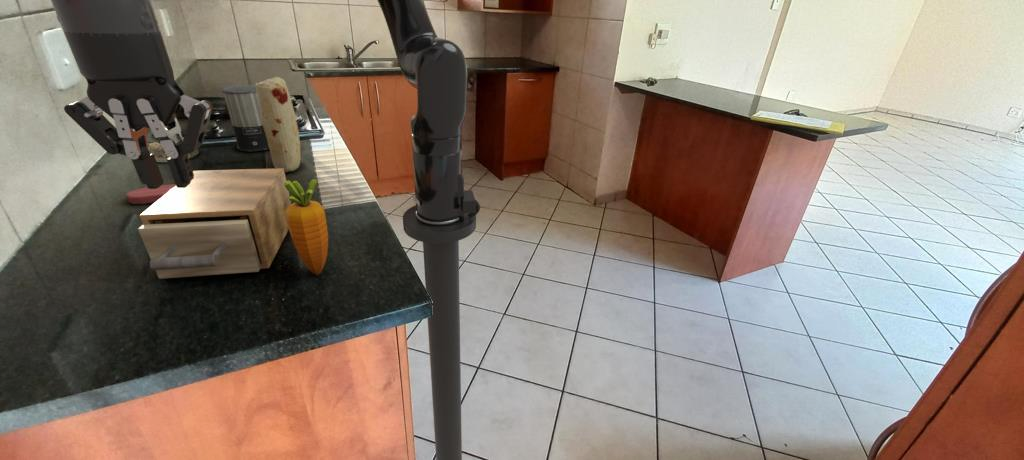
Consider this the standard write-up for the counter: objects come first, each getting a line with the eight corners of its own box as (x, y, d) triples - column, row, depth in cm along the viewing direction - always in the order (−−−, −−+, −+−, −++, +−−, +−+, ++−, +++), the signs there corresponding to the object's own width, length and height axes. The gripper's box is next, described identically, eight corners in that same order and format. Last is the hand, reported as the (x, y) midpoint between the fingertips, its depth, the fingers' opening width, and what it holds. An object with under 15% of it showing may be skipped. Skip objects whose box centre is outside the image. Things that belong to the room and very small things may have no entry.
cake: (209, 153, 106) (204, 132, 104) (176, 167, 98) (170, 144, 95) (172, 146, 107) (166, 125, 104) (136, 159, 98) (129, 137, 96)
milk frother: (241, 154, 105) (225, 93, 98) (226, 139, 115) (210, 82, 108) (301, 145, 114) (290, 87, 106) (282, 131, 124) (271, 78, 117)
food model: (303, 174, 96) (285, 81, 86) (270, 176, 93) (248, 82, 84) (306, 160, 104) (289, 74, 94) (275, 162, 101) (255, 74, 92)
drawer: (247, 292, 56) (231, 241, 52) (139, 301, 54) (114, 248, 50) (285, 222, 74) (275, 180, 70) (205, 226, 71) (190, 183, 67)
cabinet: (269, 268, 63) (253, 210, 58) (163, 275, 60) (138, 215, 55) (294, 218, 77) (283, 168, 72) (210, 222, 74) (193, 170, 70)
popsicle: (219, 187, 83) (122, 199, 77) (222, 195, 84) (125, 206, 78) (222, 178, 87) (129, 188, 81) (224, 185, 88) (133, 195, 82)
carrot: (337, 263, 65) (321, 171, 58) (334, 282, 61) (316, 184, 53) (302, 267, 63) (280, 172, 56) (296, 286, 59) (272, 187, 52)
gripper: (205, 27, 48) (244, 173, 56) (57, 22, 45) (121, 176, 53) (174, 32, 41) (223, 196, 49) (-2, 26, 38) (81, 201, 46)
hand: (170, 185), depth 51 cm, fingers closed
